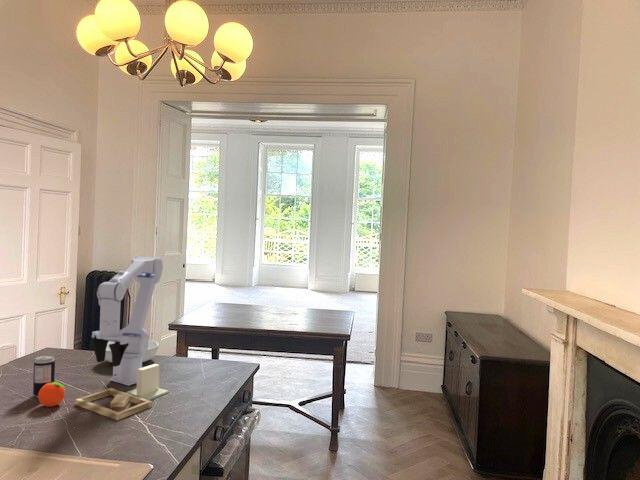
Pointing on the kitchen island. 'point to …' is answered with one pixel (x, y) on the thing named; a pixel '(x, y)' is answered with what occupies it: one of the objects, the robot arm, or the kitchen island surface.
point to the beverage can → (43, 372)
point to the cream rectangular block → (147, 379)
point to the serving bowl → (148, 355)
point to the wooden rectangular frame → (87, 404)
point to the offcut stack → (120, 402)
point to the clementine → (51, 394)
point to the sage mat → (149, 395)
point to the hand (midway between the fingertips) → (108, 363)
